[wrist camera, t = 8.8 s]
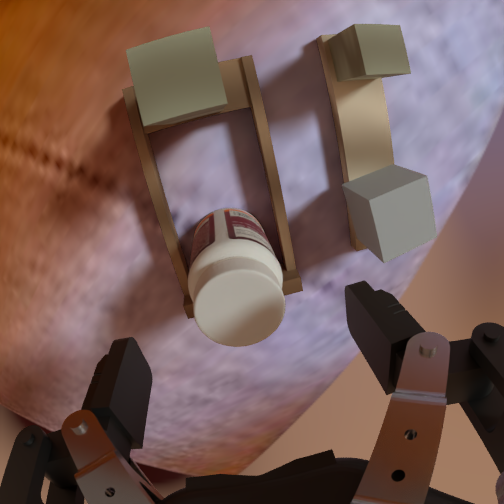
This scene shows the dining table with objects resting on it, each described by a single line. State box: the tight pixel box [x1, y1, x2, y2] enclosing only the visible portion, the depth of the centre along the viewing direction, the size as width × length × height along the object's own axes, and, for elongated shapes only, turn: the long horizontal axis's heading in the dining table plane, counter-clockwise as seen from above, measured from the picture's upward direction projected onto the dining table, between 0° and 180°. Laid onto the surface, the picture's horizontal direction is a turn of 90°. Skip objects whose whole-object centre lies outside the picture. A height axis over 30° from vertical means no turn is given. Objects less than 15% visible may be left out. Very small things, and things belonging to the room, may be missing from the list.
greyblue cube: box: [342, 164, 437, 263], centre depth 18 cm, size 4×4×4 cm
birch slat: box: [316, 24, 411, 251], centre depth 17 cm, size 14×4×5 cm, turn 13°
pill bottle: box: [188, 208, 285, 347], centre depth 18 cm, size 5×5×8 cm
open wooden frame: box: [122, 27, 303, 319], centre depth 15 cm, size 14×8×9 cm, turn 13°
